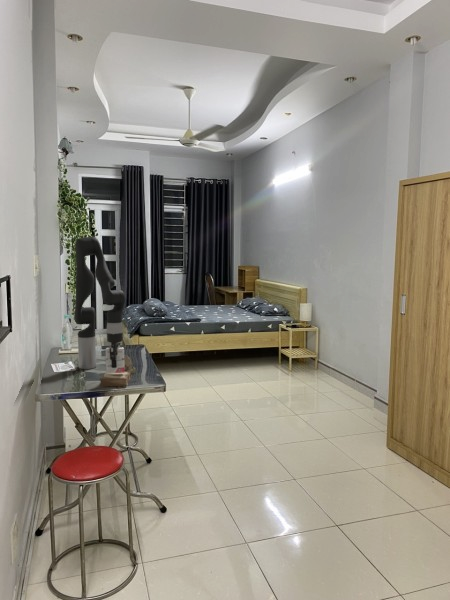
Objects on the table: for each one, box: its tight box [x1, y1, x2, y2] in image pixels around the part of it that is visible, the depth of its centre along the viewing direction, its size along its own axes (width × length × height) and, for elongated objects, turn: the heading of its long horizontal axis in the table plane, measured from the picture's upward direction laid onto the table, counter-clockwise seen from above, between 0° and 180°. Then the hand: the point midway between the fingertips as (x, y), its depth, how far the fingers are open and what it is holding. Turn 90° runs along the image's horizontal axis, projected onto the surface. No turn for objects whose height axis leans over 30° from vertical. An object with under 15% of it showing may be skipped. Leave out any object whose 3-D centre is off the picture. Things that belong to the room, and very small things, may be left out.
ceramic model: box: [124, 354, 136, 375], centre depth 244 cm, size 14×11×10 cm
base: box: [99, 372, 132, 387], centre depth 225 cm, size 12×12×4 cm
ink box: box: [105, 346, 125, 373], centre depth 224 cm, size 9×5×12 cm, turn 101°
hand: (115, 366), depth 224 cm, fingers closed on ink box, 5 cm apart
